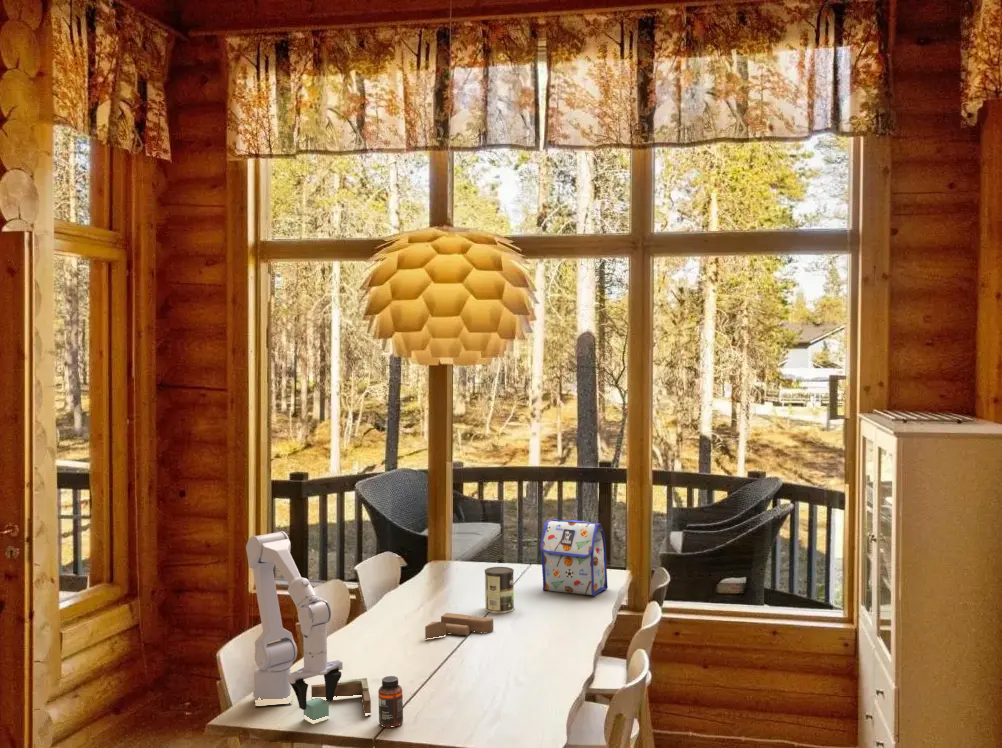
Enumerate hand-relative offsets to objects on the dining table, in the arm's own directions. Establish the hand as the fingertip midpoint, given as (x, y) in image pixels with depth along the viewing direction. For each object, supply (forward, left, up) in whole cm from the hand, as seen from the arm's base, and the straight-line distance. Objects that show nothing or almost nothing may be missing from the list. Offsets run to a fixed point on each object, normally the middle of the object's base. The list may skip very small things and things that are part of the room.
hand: (316, 704), depth 227 cm
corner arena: (+6, +6, -4) cm, 9 cm away
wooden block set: (+46, +57, -5) cm, 74 cm away
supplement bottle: (+18, -7, -4) cm, 20 cm away
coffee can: (+65, +82, -4) cm, 105 cm away
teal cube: (0, 0, -4) cm, 4 cm away
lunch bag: (+98, +100, -4) cm, 140 cm away
